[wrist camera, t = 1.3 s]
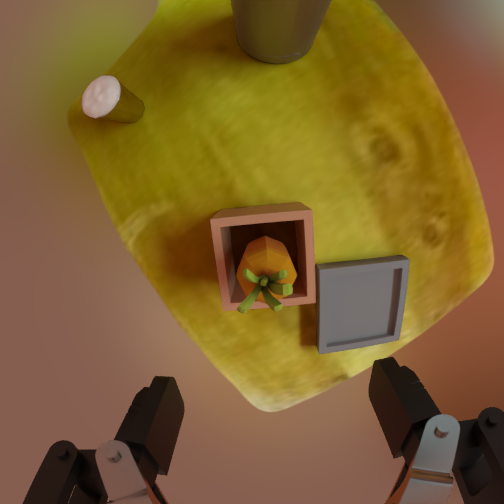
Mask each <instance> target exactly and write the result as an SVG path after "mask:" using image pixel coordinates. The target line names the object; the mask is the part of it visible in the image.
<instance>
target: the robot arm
mask: <svg viewBox="0 0 504 504" xmlns="http://www.w3.org/2000/svg"><path fill="white" fill-rule="evenodd" d="M331 1H332V0H231V5H232V11H233V16H234V23H235V29H236V34H237V40H238V42H239V45H240V46H241V48H242V49H243V50H244V51H245V52H246V53H247V54H248V55H250V56H251V57H253V58H255V59H257V60H260V61H262V62H266V63H272V64H283V63H289V62H293V61H296V60H298V59H300V58H301V57H303V56H304V55H305V54H306V53H307V52H308V51H309V50H310V48H311V46H312V44H313V41H314V39H315V37H316V35H317V33H318V30H319V28H320V26H321V23H322V21H323V19H324V17H325V14H326V12H327V10H328V8H329V5H330V3H331ZM369 398H370V401H371V403H372V406H373V408H374V411H375V413H376V415H377V418H378V420H379V422H380V425H381V427H382V430H383V432H384V435H385V437H386V440H387V442H388V445H389V447H390V450H391V453H392V455H393V458H398V457H400V456H403V457H404V459H405V462H404V464H403V466H402V468H401V471H400V473H399V475H398V478H397V480H396V482H395V484H394V486H393V489H392V491H391V493H390V495H389V497H388V499H387V500H386V503H385V504H447V502H448V499H449V496H450V493H451V490H452V486H453V482H454V479H453V477H450V473H451V470H452V472H453V474H454V477H455V479H456V482H457V484H458V487H459V490H460V493H461V495H462V498H463V501H464V504H504V412H503V411H501V410H500V409H498V408H495V407H489V408H486V409H484V410H483V411H482V412H481V413H480V414H479V416H478V418H477V419H472V420H466V421H457V420H456V419H455V418H454V417H452V416H449V415H444V414H443V415H442V414H441V413H440V411H439V409H438V408H437V406H436V405H435V403H434V401H433V400H432V398H431V397H430V395H429V394H428V392H427V391H426V389H424V386H423V385H422V383H421V382H420V380H419V378H418V377H417V375H416V374H415V372H413V371H412V370H410V369H409V368H408V367H406V366H402V367H400V366H399V365H398V363H397V362H396V360H395V359H394V358H393V357H388V358H384V359H379V360H375V361H374V363H373V369H372V374H371V379H370V384H369ZM183 416H184V402H183V400H182V397H181V394H180V391H179V389H178V386H177V383H176V380H175V379H174V377H164V376H155V377H154V379H153V381H152V383H151V385H150V387H144V388H143V389H142V390H141V391H140V392H138V393H137V394H136V396H135V398H134V400H133V402H132V405H131V406H130V408H129V410H128V413H127V414H126V416H125V418H124V420H123V422H122V424H121V426H120V428H119V430H118V432H117V434H116V437H115V439H114V440H112V441H107V442H105V443H103V444H102V445H100V446H99V447H98V449H96V450H78V449H77V448H76V446H75V445H74V444H73V443H71V442H69V441H64V440H62V441H58V442H56V443H54V444H53V445H52V446H51V447H50V449H49V451H48V453H47V455H46V456H45V458H44V460H43V462H42V464H41V466H40V468H39V470H38V472H37V474H36V476H35V478H34V480H33V482H32V484H31V486H30V489H29V491H28V493H27V495H26V497H25V500H24V502H23V504H68V501H69V499H70V501H69V504H169V503H168V501H167V500H166V498H165V496H164V495H163V493H162V491H161V490H160V488H159V486H158V484H157V483H156V481H155V480H156V477H157V474H160V475H167V473H168V470H169V466H170V463H171V459H172V455H173V452H174V448H175V444H176V441H177V437H178V434H179V430H180V427H181V423H182V420H183ZM74 486H75V488H74ZM73 488H74V490H73ZM72 491H73V493H72ZM71 493H72V496H71ZM70 496H71V498H70ZM108 497H109V502H107V500H108Z"/></svg>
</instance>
